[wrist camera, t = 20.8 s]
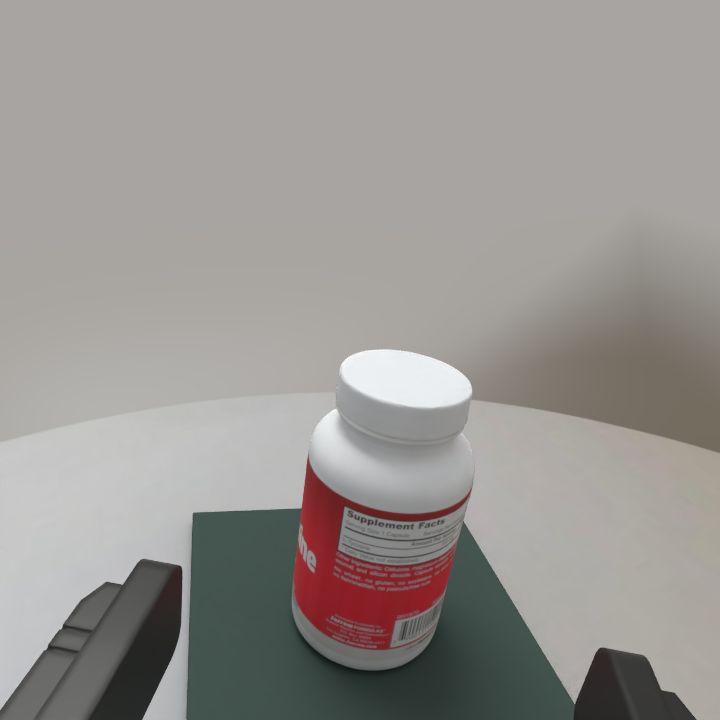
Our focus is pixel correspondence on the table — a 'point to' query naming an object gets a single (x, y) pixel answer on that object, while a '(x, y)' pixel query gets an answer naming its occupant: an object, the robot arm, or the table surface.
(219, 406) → the table surface
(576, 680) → the table surface
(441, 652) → the mat
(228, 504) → the table surface
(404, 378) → the pill bottle
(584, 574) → the table surface
